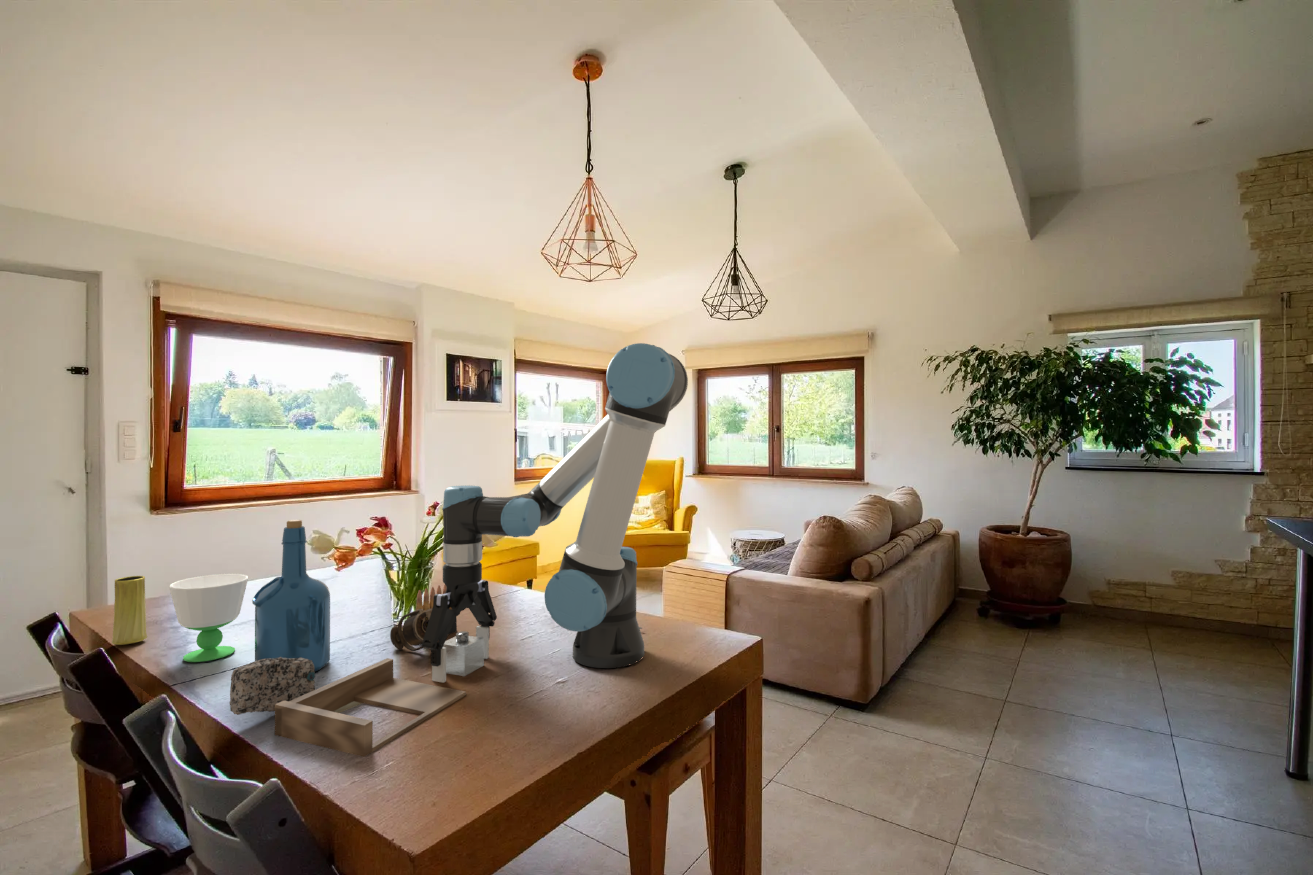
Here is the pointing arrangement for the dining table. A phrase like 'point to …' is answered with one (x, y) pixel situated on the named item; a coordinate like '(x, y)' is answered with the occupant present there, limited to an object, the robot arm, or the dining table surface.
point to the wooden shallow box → (373, 685)
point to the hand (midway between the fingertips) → (461, 668)
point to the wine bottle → (293, 608)
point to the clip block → (464, 654)
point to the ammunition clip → (426, 605)
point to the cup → (208, 610)
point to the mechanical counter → (411, 630)
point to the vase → (129, 610)
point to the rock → (270, 683)
